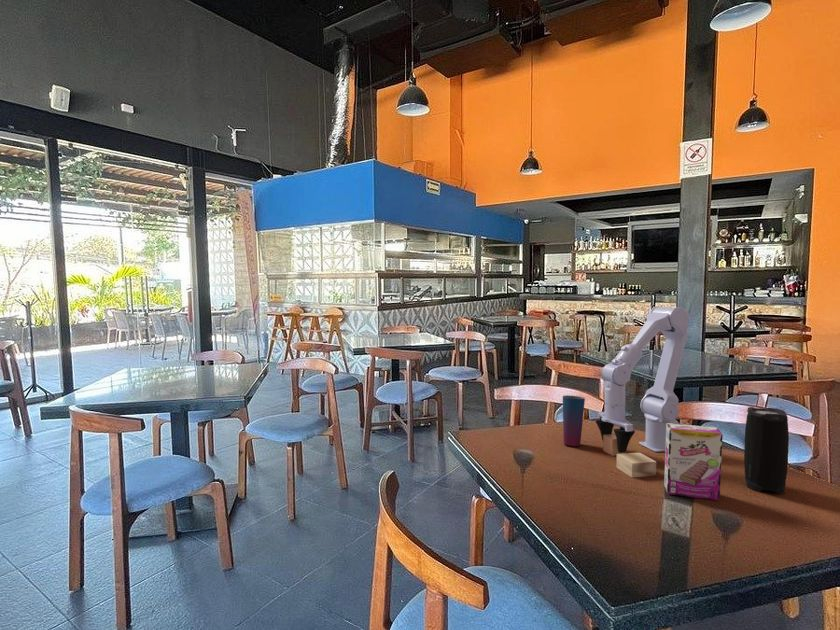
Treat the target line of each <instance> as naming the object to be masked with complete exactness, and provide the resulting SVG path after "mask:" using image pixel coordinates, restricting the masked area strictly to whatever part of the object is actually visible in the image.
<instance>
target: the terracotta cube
mask: <svg viewBox="0 0 840 630" xmlns="http://www.w3.org/2000/svg"><path fill="white" fill-rule="evenodd" d="M602 444H603V445H602V446H603V447H602V450H603V451H604V453H606V454H608V455H610V456H617V454H625V453H627V451H626V452H624V453H619V452H618V446H617V438H616V435H615V433H612V434H607V435H603V440H602Z"/></svg>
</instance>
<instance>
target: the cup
mask: <svg viewBox="0 0 840 630" xmlns="http://www.w3.org/2000/svg"><path fill="white" fill-rule="evenodd" d="M585 401H586V398H585V397H583V396H580V395H562V423H563V425H562V426H563V427H562V428H563V429H562V431H563V432H562V433H563V444H564V445H566V446H569V447H570V446H571V447H579V446H581V441H582V432H583V431H582V428H583V420H584V411H585V410H584V409H585V403H586V402H585Z"/></svg>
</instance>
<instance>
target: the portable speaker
mask: <svg viewBox="0 0 840 630" xmlns="http://www.w3.org/2000/svg"><path fill="white" fill-rule="evenodd" d="M746 412H747V414H746V420H745V427H744V428H745V429H744V451H743V453H744V454H743V461H744V463H743V466H744V480H745V484H746V487H747V488H749V489H750V490H752V491H756V492H761V491H771V492H774V493H775V494H776V495H782V494H783V495H784V494H785V492H786V491H785V490H786V482H787V476H788V475H787V474H788V469H789V468H788V466H789V445H790V444H789V442H790V434H789V420H788V414H787V412H785V410H783V409H780V408H774V407H766V408H765V407H761V408H760V407H759V408H758V407H754V406H749V407H747V409H746Z"/></svg>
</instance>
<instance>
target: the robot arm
mask: <svg viewBox="0 0 840 630" xmlns="http://www.w3.org/2000/svg"><path fill="white" fill-rule="evenodd" d="M690 319H691V317H690V315H689V314H688V312H687V310H686V309H685V308H684V307H682V306H677V307H672V306H671V307H670V306H669V307H668V306H658V305H657V306H654V307H652V308H651V309H650V311H649V312H648V313H647V315H646V321H645V322H644V323H643V326H642V327H641V328H640V329H639V331H638V333H637V334H636V336H635V337H634V339H633V340H632V342H631V343H630V344H629V343H628V344H625V345H622V346H621V347H620V351H619V352H618V353H617V355H616V356H615V357H614V358H612V360H611V362H608V363H607V364H606V365H604V366H603V368H602V370H601V371H600V373H599V374H600V377H601V379H602V380H603V381H602V382H603V385H604V411H597V419H598V420H595V424H596V426H597V427H598V429H599V432H600V436H601V440H602V441H603V435H607V434H613V431H614V434H615V435H616V438H617V446H618V452H619V453H624V452H626V453H627V449H628V447H629V443H630V440H631V439H632V437H633V436H634V434H635V433H636V431H635V430H634V424H632V423H631V422H630V421H629V420H627V419H626V384H627V383H628V382H630V380H631V376H632V375H631V374H632V372H633V368H634V367H635V366H636V365H637V363H638V362H639V361H640V359H642V357H643V351H642V350H643V349H644V348H645V347H646V346H647V345H648V344H649V343H650V342H651V340H652V339H653V338H654V337H655V336H656V335H657V334H658V333H662V335H663V336H664V338H665V341H664V344H663V349H662V352H661V355H660V361H659V363H658V368H657V371H656V375H655V379H654V383H653V385H652V386H651V387H650V388H648V389H646V390H645V394H644V396H643V398H642V399H641V400H640V405H639V406H640V407H639V408H640V410H641V412H642V413H643V414H644V418H645V440H644V441H639V442H638V445H641V446H643V447H645V448H647V449H649V450H651V451H653V452H655V453H659V452H665V447H666V423H671V424H680V423H679V421H678V420H677V417H678V414H679V398H678V396H677V395H676V394H675V392H674V389H675V385H676V381H677V377H678V373H679V369H680V365H681V362H682V357H683V355H684V350H685V346H686V342H687V339H688V327H689V323H690ZM614 426H616V427H618V428H614Z"/></svg>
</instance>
